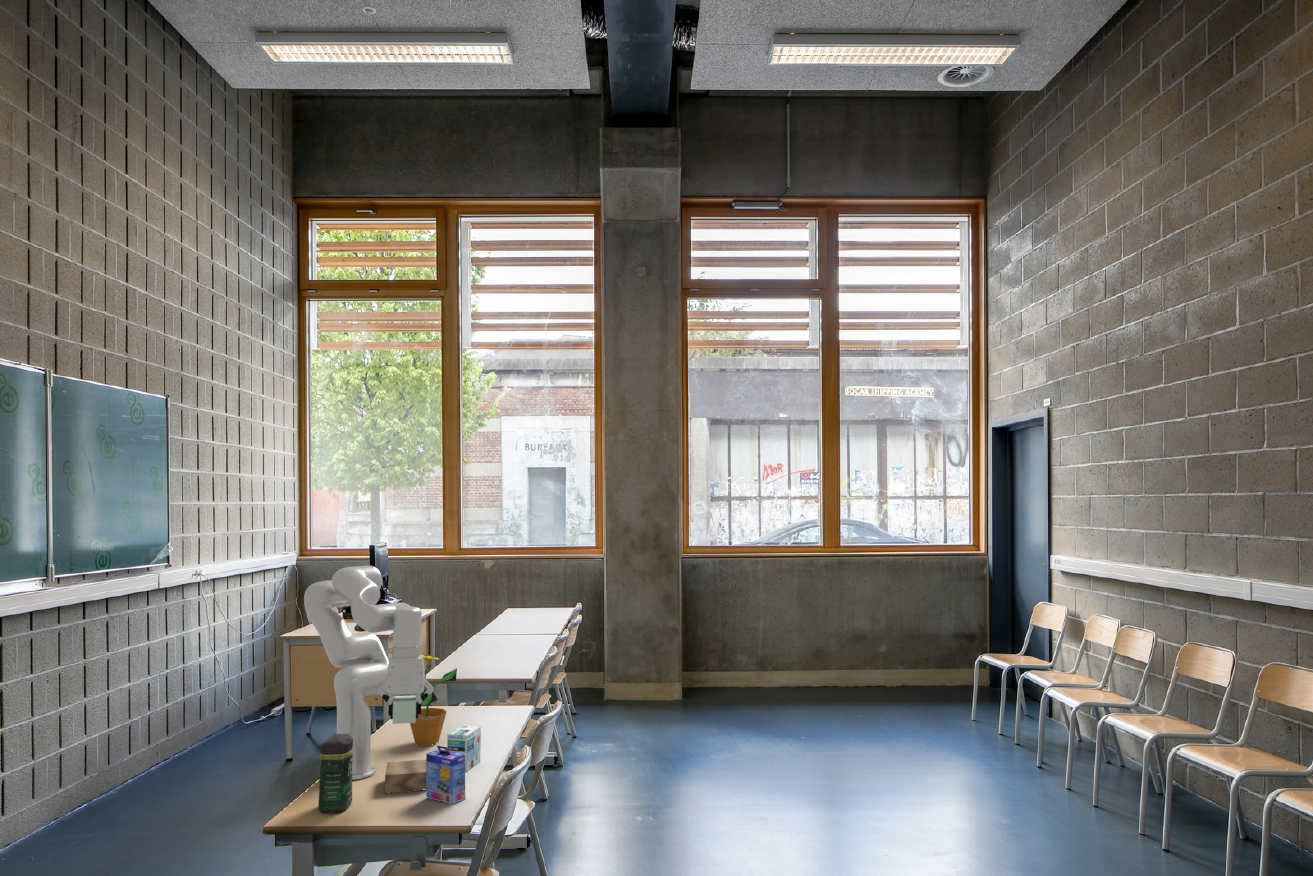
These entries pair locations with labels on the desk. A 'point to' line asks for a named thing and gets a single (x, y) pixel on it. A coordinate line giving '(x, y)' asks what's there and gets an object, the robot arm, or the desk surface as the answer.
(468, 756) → the light bulb box
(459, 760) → the ink cartridge box
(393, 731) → the desk surface
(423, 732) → the potted plant
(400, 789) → the walnut block
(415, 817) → the desk surface
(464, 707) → the desk surface
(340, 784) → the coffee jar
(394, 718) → the sage block
